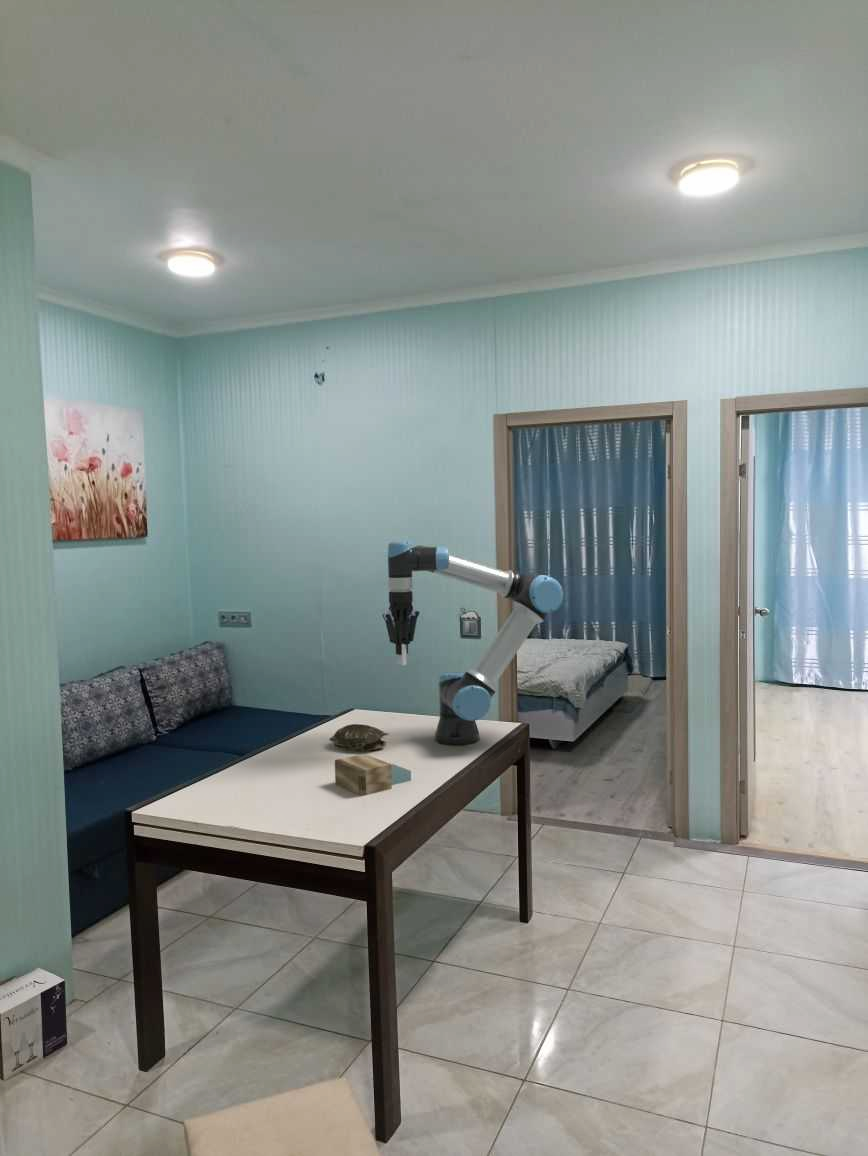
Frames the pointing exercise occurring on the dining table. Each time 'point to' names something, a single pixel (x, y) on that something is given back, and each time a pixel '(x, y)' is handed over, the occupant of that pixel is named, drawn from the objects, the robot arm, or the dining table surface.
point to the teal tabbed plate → (399, 774)
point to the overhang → (363, 774)
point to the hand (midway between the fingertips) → (402, 664)
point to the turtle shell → (359, 738)
